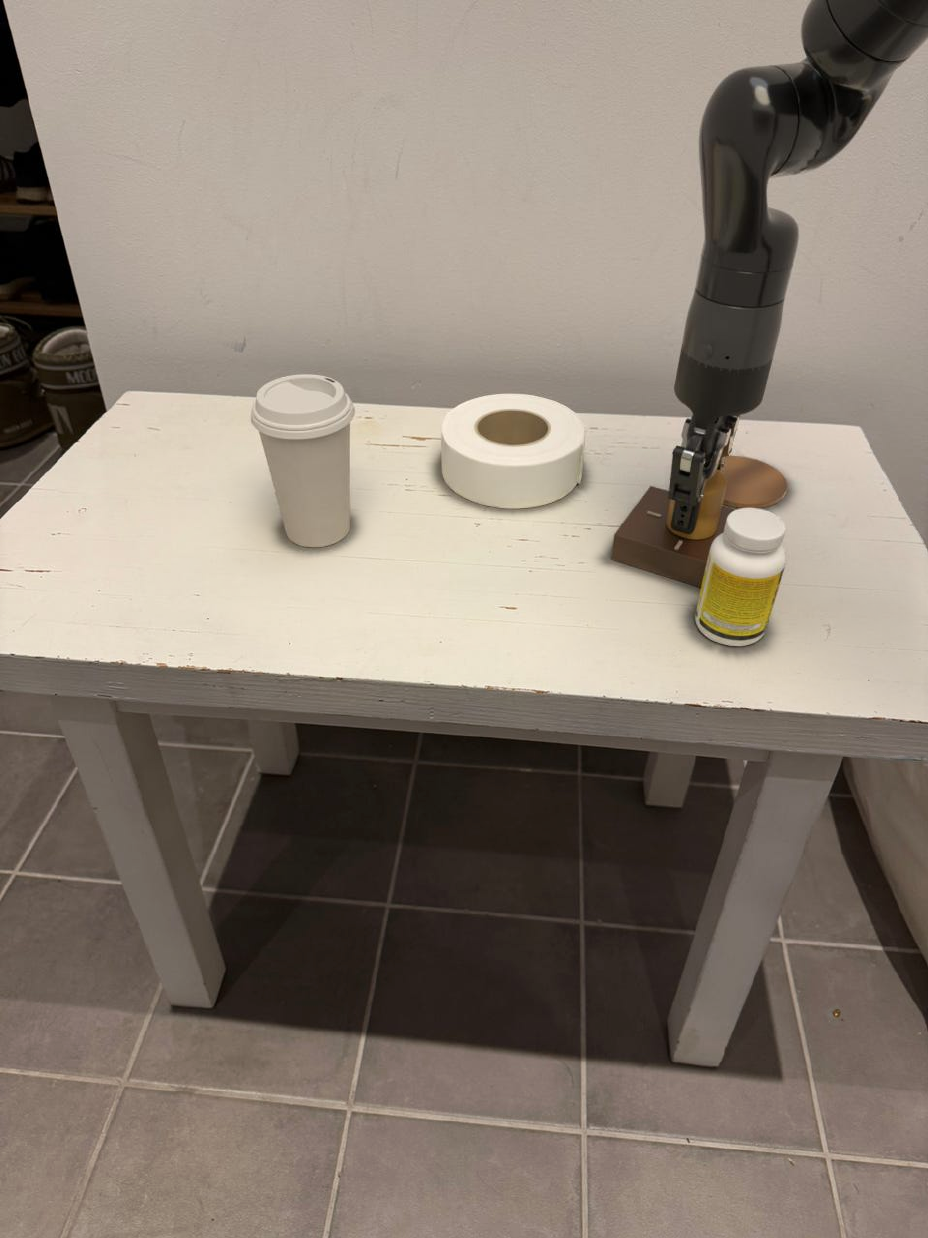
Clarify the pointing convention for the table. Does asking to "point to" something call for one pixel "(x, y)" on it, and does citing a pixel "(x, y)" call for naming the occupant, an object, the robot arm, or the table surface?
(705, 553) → the panel
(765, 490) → the coaster
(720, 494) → the knob
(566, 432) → the tape roll
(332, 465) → the coffee cup
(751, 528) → the pill bottle
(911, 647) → the table surface
